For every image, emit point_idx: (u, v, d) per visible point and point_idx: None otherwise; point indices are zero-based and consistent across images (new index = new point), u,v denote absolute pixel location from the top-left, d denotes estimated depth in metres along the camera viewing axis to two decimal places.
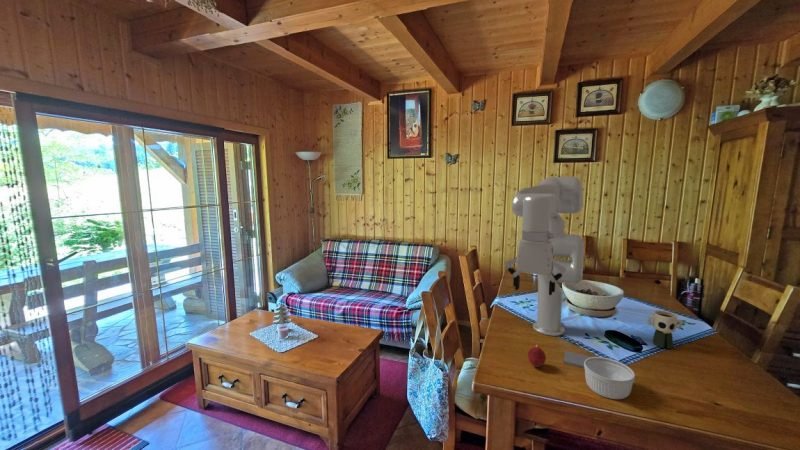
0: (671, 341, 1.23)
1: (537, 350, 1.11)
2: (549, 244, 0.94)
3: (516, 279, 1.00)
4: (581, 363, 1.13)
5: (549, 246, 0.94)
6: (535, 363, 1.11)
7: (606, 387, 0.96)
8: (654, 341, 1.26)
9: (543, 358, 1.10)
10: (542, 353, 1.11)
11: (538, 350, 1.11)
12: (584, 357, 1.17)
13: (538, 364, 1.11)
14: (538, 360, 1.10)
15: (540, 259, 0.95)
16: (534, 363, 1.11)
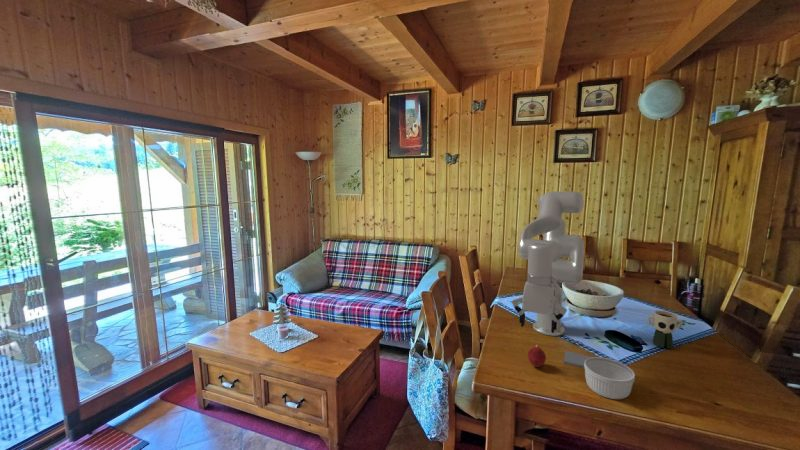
0: (671, 341, 1.23)
1: (537, 350, 1.11)
2: (552, 288, 1.06)
3: (522, 317, 1.12)
4: (581, 363, 1.13)
5: (552, 289, 1.06)
6: (535, 363, 1.11)
7: (606, 387, 0.96)
8: (654, 341, 1.26)
9: (543, 358, 1.10)
10: (542, 353, 1.11)
11: (538, 350, 1.11)
12: (584, 357, 1.17)
13: (538, 364, 1.11)
14: (538, 360, 1.10)
15: (543, 301, 1.07)
16: (534, 363, 1.11)
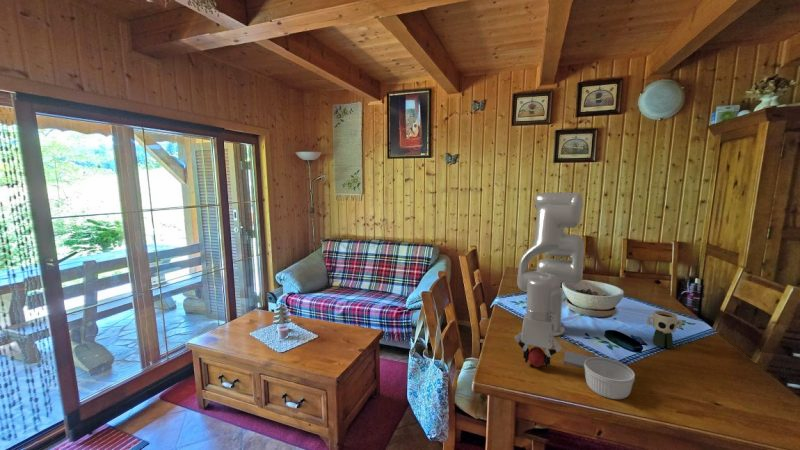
0: (671, 341, 1.23)
1: (537, 350, 1.11)
2: (550, 323, 1.08)
3: (526, 353, 1.13)
4: (581, 363, 1.13)
5: (550, 324, 1.08)
6: (535, 363, 1.11)
7: (606, 387, 0.96)
8: (654, 341, 1.26)
9: (543, 358, 1.10)
10: (542, 353, 1.11)
11: (538, 351, 1.11)
12: (584, 357, 1.17)
13: (538, 364, 1.11)
14: (538, 360, 1.10)
15: (542, 335, 1.09)
16: (534, 363, 1.11)
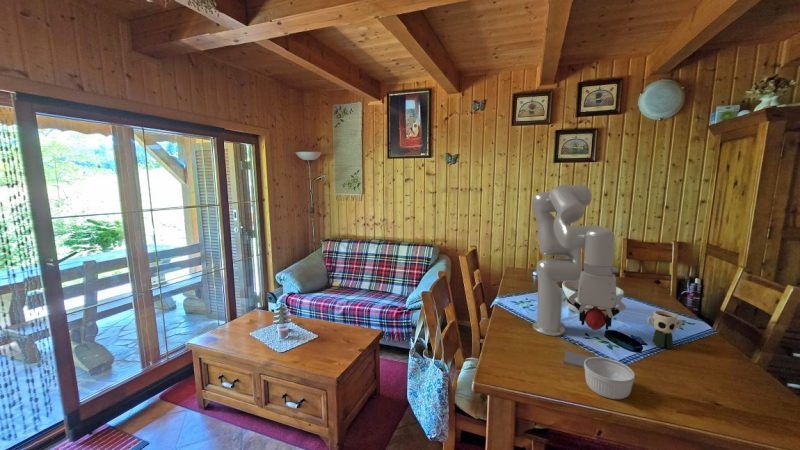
0: (671, 341, 1.23)
1: (596, 311, 0.99)
2: (613, 278, 0.95)
3: (583, 314, 1.01)
4: (581, 363, 1.13)
5: (613, 280, 0.95)
6: (594, 325, 0.98)
7: (606, 387, 0.96)
8: (654, 341, 1.26)
9: (604, 319, 0.98)
10: (602, 314, 0.99)
11: (597, 311, 0.99)
12: (584, 357, 1.17)
13: (598, 326, 0.98)
14: (598, 321, 0.98)
15: (604, 293, 0.96)
16: (593, 325, 0.99)
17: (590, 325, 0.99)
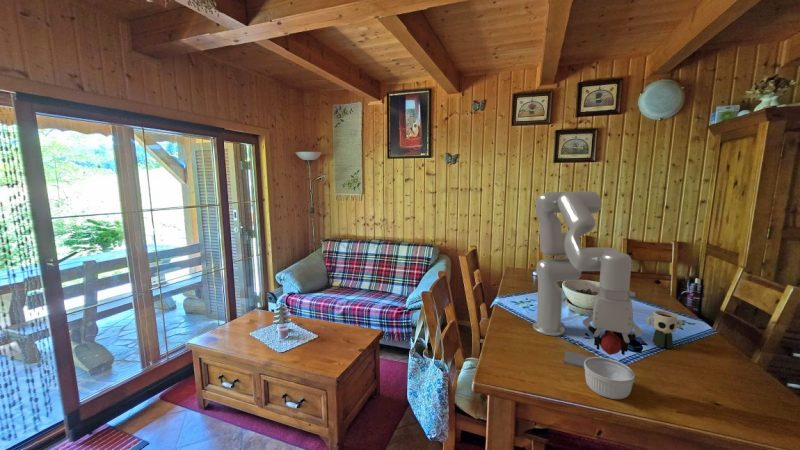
0: (671, 341, 1.23)
1: (612, 335, 0.97)
2: (630, 303, 0.94)
3: (598, 339, 0.99)
4: (581, 363, 1.13)
5: (630, 305, 0.94)
6: (610, 350, 0.97)
7: (606, 387, 0.96)
8: (654, 341, 1.26)
9: (620, 344, 0.96)
10: (618, 339, 0.97)
11: (613, 336, 0.97)
12: (584, 357, 1.17)
13: (614, 351, 0.96)
14: (614, 347, 0.96)
15: (620, 318, 0.95)
16: (609, 350, 0.97)
17: (606, 350, 0.98)
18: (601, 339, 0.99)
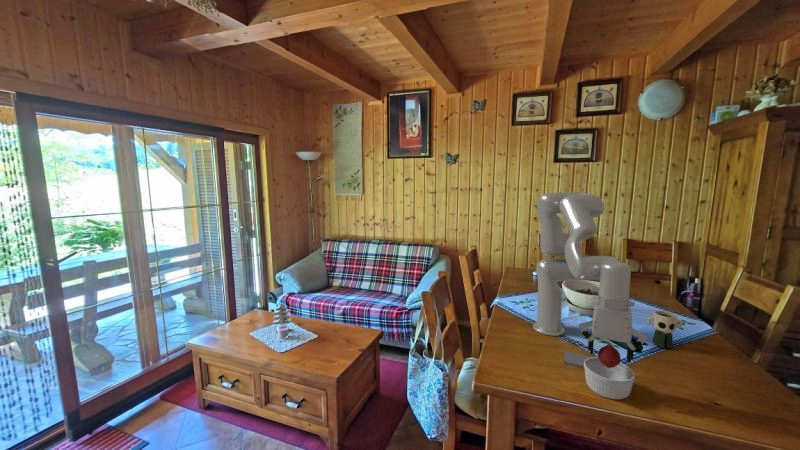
0: (671, 341, 1.23)
1: (610, 349, 0.98)
2: (629, 313, 0.94)
3: (592, 343, 1.00)
4: (581, 363, 1.13)
5: (629, 315, 0.94)
6: (609, 364, 0.98)
7: (606, 387, 0.96)
8: (654, 341, 1.26)
9: (618, 358, 0.97)
10: (617, 352, 0.98)
11: (611, 349, 0.98)
12: (584, 357, 1.17)
13: (613, 365, 0.97)
14: (613, 360, 0.97)
15: (620, 327, 0.95)
16: (608, 364, 0.98)
17: (605, 363, 0.99)
18: (600, 352, 1.00)
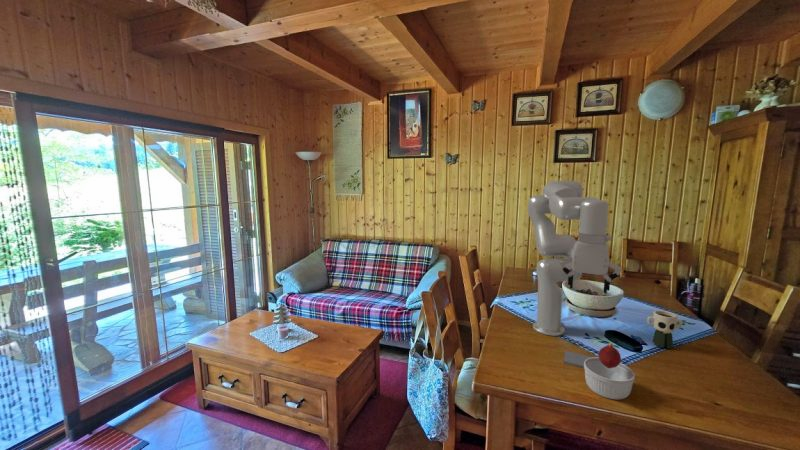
0: (671, 341, 1.23)
1: (611, 349, 0.98)
2: (606, 246, 1.00)
3: (571, 278, 1.06)
4: (581, 363, 1.13)
5: (606, 248, 1.00)
6: (609, 364, 0.97)
7: (606, 387, 0.96)
8: (654, 341, 1.26)
9: (619, 358, 0.97)
10: (617, 353, 0.98)
11: (612, 350, 0.98)
12: (584, 357, 1.17)
13: (613, 365, 0.97)
14: (613, 361, 0.97)
15: (597, 260, 1.01)
16: (608, 364, 0.98)
17: (605, 364, 0.98)
18: (600, 353, 1.00)
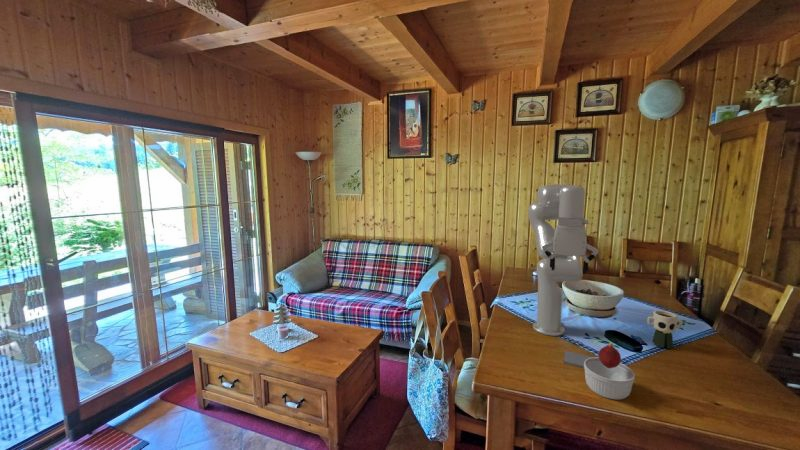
0: (671, 341, 1.23)
1: (611, 349, 0.98)
2: (584, 229, 1.07)
3: (553, 260, 1.13)
4: (581, 363, 1.13)
5: (584, 231, 1.07)
6: (609, 364, 0.97)
7: (606, 387, 0.96)
8: (654, 341, 1.26)
9: (619, 358, 0.97)
10: (617, 353, 0.98)
11: (612, 350, 0.98)
12: (584, 357, 1.17)
13: (613, 365, 0.97)
14: (613, 361, 0.97)
15: (575, 242, 1.08)
16: (608, 364, 0.98)
17: (605, 364, 0.98)
18: (600, 353, 1.00)
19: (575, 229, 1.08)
